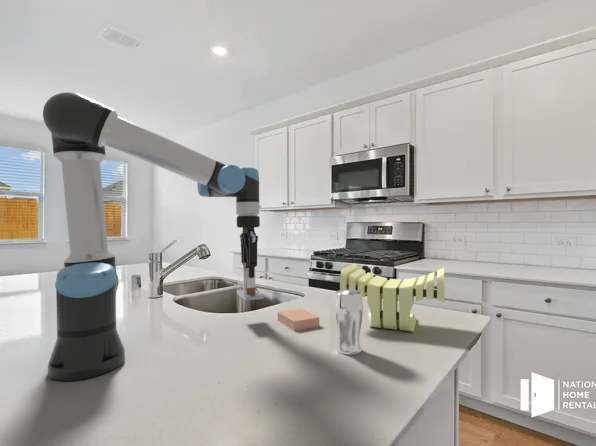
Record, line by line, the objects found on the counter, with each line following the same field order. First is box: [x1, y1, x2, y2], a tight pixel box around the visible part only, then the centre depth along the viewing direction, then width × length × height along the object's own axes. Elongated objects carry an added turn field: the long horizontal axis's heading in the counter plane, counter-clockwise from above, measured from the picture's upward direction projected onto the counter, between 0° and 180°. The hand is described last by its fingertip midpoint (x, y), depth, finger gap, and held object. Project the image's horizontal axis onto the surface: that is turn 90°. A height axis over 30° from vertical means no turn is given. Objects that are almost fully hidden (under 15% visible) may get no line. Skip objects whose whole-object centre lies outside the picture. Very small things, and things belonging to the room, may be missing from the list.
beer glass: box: [334, 289, 364, 356], centre depth 85 cm, size 7×7×15 cm
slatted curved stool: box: [339, 263, 445, 333], centre depth 106 cm, size 30×16×18 cm, turn 67°
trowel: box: [236, 262, 265, 302], centre depth 109 cm, size 12×6×11 cm, turn 24°
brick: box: [277, 308, 320, 332], centre depth 108 cm, size 3×9×12 cm
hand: (249, 286), depth 109 cm, fingers closed on trowel, 3 cm apart
